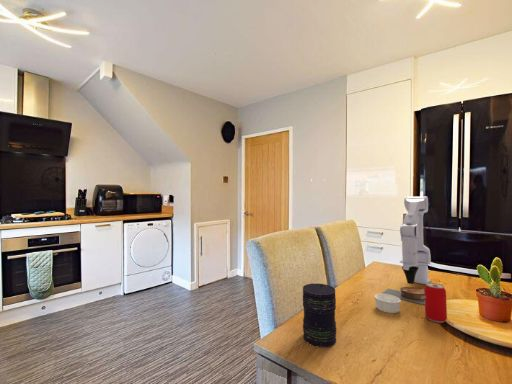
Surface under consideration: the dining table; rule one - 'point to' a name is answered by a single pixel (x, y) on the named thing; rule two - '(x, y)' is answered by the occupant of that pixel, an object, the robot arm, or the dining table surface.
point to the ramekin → (387, 303)
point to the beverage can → (435, 302)
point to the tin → (413, 293)
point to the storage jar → (319, 315)
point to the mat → (400, 296)
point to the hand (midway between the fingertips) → (410, 283)
